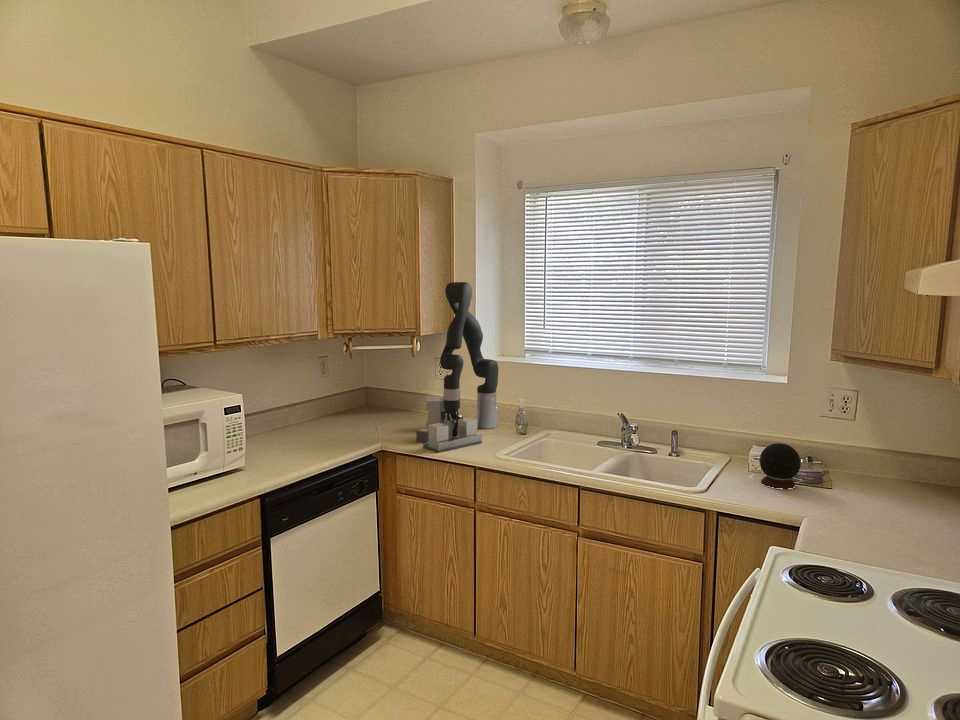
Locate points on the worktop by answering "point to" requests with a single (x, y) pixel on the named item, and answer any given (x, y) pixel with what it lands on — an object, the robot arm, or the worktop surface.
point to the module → (450, 428)
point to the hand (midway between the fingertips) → (451, 435)
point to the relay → (422, 435)
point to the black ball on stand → (779, 465)
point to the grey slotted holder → (464, 439)
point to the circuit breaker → (434, 411)
